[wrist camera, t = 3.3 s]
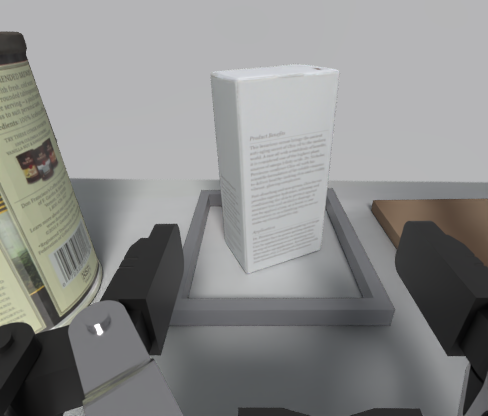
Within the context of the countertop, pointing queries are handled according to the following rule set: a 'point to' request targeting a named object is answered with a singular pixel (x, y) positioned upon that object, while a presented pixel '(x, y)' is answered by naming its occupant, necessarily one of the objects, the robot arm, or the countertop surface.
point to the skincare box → (274, 159)
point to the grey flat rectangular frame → (284, 309)
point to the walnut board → (439, 219)
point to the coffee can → (37, 209)
